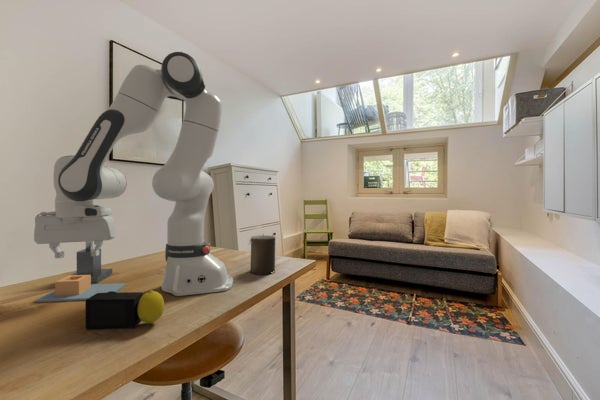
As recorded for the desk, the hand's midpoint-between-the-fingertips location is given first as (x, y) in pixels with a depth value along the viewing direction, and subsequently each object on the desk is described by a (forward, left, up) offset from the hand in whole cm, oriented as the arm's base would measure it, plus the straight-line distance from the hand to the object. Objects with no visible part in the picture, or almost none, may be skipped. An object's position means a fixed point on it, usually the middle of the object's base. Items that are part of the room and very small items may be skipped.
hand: (77, 256), depth 82 cm
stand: (+4, -14, -11) cm, 18 cm away
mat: (-2, 0, -11) cm, 11 cm away
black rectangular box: (-20, +22, -11) cm, 32 cm away
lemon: (-28, +23, -11) cm, 38 cm away
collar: (+1, 0, -10) cm, 10 cm away
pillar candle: (-56, -17, -11) cm, 60 cm away
